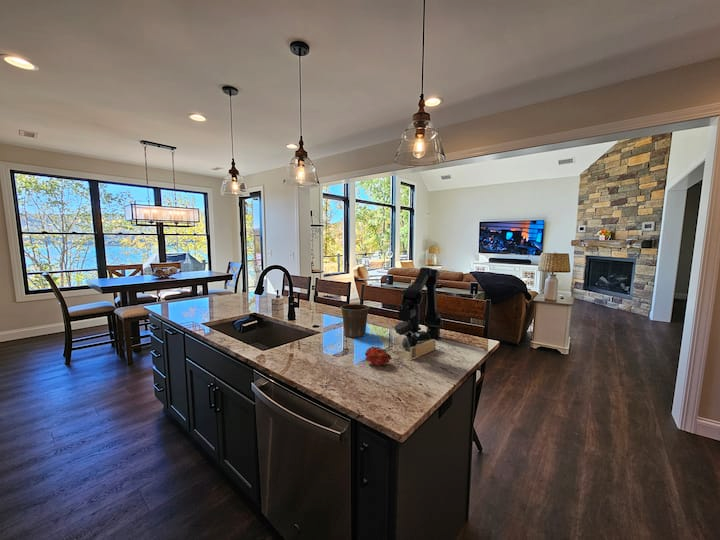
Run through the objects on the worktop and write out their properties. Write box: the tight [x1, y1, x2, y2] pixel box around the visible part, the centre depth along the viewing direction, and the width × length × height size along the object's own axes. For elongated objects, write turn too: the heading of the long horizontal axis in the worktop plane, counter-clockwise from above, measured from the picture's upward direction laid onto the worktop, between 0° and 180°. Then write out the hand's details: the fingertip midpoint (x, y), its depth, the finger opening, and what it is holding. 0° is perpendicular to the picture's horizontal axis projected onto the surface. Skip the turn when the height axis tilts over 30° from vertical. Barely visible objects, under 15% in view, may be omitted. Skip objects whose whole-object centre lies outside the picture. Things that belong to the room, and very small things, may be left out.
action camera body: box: [401, 337, 432, 353], centre depth 146 cm, size 13×8×6 cm, turn 114°
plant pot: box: [340, 303, 370, 338], centre depth 168 cm, size 16×16×16 cm
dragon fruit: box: [364, 345, 393, 368], centre depth 127 cm, size 8×8×12 cm
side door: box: [409, 339, 436, 360], centre depth 138 cm, size 18×1×5 cm, turn 132°
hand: (412, 349), depth 136 cm, fingers closed
